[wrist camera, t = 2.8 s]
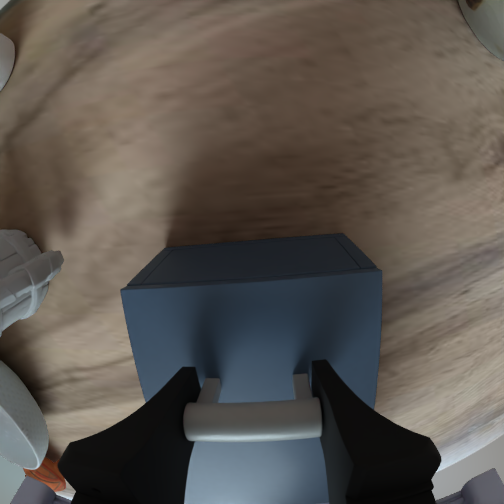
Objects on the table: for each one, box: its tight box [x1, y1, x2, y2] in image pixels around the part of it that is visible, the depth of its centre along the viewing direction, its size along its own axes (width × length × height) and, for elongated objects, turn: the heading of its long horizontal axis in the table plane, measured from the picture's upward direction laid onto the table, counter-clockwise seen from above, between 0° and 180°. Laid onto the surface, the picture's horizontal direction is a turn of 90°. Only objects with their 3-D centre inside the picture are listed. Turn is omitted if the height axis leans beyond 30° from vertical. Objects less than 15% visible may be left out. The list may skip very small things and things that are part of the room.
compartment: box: [127, 233, 377, 286], centre depth 19 cm, size 15×12×6 cm
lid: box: [120, 268, 382, 504], centre depth 12 cm, size 15×12×4 cm
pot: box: [23, 457, 66, 492], centre depth 27 cm, size 8×8×7 cm
